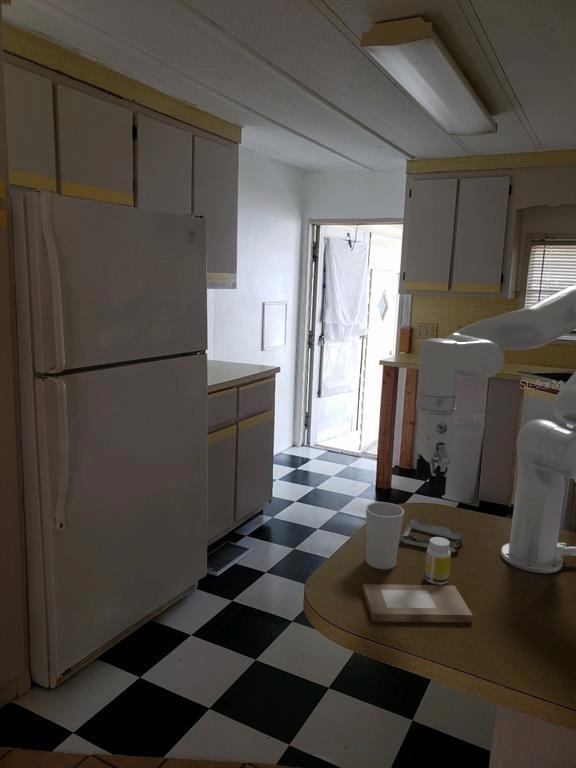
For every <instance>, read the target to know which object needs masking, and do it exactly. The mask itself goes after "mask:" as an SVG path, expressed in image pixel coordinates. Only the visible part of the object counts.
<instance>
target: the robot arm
mask: <svg viewBox="0 0 576 768" xmlns="http://www.w3.org/2000/svg"><path fill="white" fill-rule="evenodd" d="M574 331H576V285H571V286H568V287H566V288H563V289H561V290H559V291H557V292H555V293H552V294H551V295H549V296H547V297H544V298H542V299H540V300H539V301H535V302H534V303H532V304H530V305H528V306H525V307H523V308H521V309H517V310H513V311H509V312H506V313H503V314H500V315H496V316H492V317H489V318H484V319H481V320H479V321H475V322H473V323H471V324H468V325H466V326H464V327H462V328H460V329H458V330H456V331H454V332H452V333H451V334H449V335H448V336H446V337H445V338H441V337H439V338H437V337H436V338H432V337H431V338H427V339H424V340H423V341H422V342H421V344H420V350H419V351H420V353H419V362H418V363H419V364H418V366H419V367H418V378H417V379H418V380H417V392H416V402H415V403H416V405H415V406H416V407H415V409H416V410H418V411H419V416H418V423H417V434H416V435H417V436H416V449H417V454H416V456H417V458H416V470H415V476H416V478H419V479H420V478H421V479H428V484H427V494H428V495H429V496H435V497H436V496H439V497H440V496H442V497H443V496H445V495H446V490H447V489H446V488H447V477H448V470H449V468H448V464H449V465H451V464H452V462H453V459H454V439H455V438H454V437H455V436H454V432H455V431H454V430H455V429H454V428H455V427H454V426H455V425H454V413H456V412H457V400H458V388H459V379H460V377H466V378H471V379H472V378H473V379H487V378H491V377H493V376H495V375H496V374H498V373H499V372H500V371H501V369H502V368H503V366H504V364H505V355H504V352H503V351H512V350H513V351H516V350H517V351H519V350H521V351H522V350H531V349H536V348H541V347H544V346H546V345H548V344H550V343H551V342H553V341H556V340H557V339H559V338H561V337H563V336H565V335H567V334H570V333H571V332H574ZM552 401H553V402H552V404H551V408H552V410H551V411H552V413H553V415H554V416H555V417H556V418H557V419H558V420H559V421H561V422H563V423H565V424H567V425H564V424H561V423H559V422H556V421H553V420H552V421H551V420H547V419H541V418H539V419H532V420H530V421H528V422H526V423H525V424H523V426H522V427H521V428H520V429H519V431H518V435H517V438H516V453H517V454H516V455H517V462H518V463H517V467H518V468H517V478H516V479H517V481H516V488H515V496H514V504H513V511H512V512H513V513H512V519H511V529H510V536H509V542H508V543H505V544H503V545H502V546H501V548H500V549H501V552H500V555H501V557H502V559H503V560H504V561H505V562H507V563H508V564H509V565H511V566H513V567H515V568H518V569H520V570H523V571H527V572H530V573H531V572H532V573H538V574H552V573H555V572H558V571H560V570H561V569H562V568H563V564H564V563H563V559H562V558H563V557H565V556H573V557H574V556H575V557H576V546H567V543H566V542H558V539H559V532H560V527H561V526H560V525H561V518H562V511H563V510H562V509H563V502H564V497H565V488H566V486H565V485H566V484H565V477H567V478H570V479H573V480H576V429H575V428H571V427H569V426H568V425H570V426H573V427H576V370H575V371H574V372H573V374H572V375H571V376H570V377H569V379H568V380H567V381H566V383H564V385H563V386H562V387H561V389H560V390H559V392H557V394H556V396H555V398H554V399H553V400H552ZM436 465H437V466H436Z"/></svg>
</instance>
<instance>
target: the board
mask: <svg viewBox="0 0 576 768" xmlns="http://www.w3.org/2000/svg"><path fill="white" fill-rule="evenodd" d="M362 586H363V587H362V593H363V596H364V599H365V602H366V605H367V608H368V611H369V615H370V618H371V620H372V622H381V623H383V622H385V623H386V622H390V623H391V622H394V623H395V622H396V623H398V622H399V623H401V622H402V623H407V622H408V623H466V624H467V623H469V624H471V623H473V613H472V611H471V610H470V608H469V606H468V605H467V602H465V600H464V599H463V596H462V595H461V594H460V592H459V591H458V589H457V588H456V585H450V584H449V585H448V584H447V585H446V584H443V585H437V584H433V585H432V584H386V583H385V584H377V583H376V584H373V583H371V584H369V583H365V584H364V583H363V585H362Z"/></svg>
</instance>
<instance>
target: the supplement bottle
mask: <svg viewBox="0 0 576 768" xmlns="http://www.w3.org/2000/svg"><path fill="white" fill-rule="evenodd" d="M429 541H430V542H429V547H428V548H427V549H426V556H425V557H426V558H425V568H424V579H425V581H427V582H429V583H430V584H433V585H446V584H447V583H448V582H449V580H450V568H451V558H452V556H451V555H452V552H450V550H449V548H450V545H451V542H450V540H449V539H448V538H446V537H443V536H434V537H431V538H430V539H429Z"/></svg>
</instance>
